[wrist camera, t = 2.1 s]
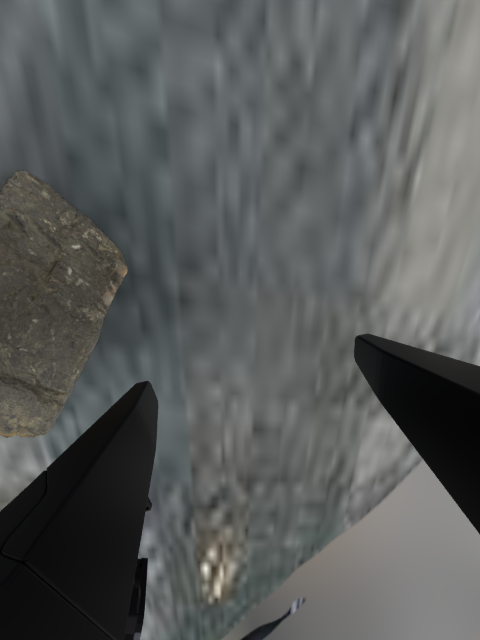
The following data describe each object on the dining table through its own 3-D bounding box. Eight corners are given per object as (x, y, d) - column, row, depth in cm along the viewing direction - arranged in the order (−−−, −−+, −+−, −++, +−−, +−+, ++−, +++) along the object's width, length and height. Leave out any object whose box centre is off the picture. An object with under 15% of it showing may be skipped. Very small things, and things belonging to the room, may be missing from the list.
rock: (113, 445, 20) (-76, 471, 15) (115, 383, 25) (-24, 390, 20) (136, 209, 12) (-208, 128, 8) (132, 194, 18) (-76, 140, 13)
